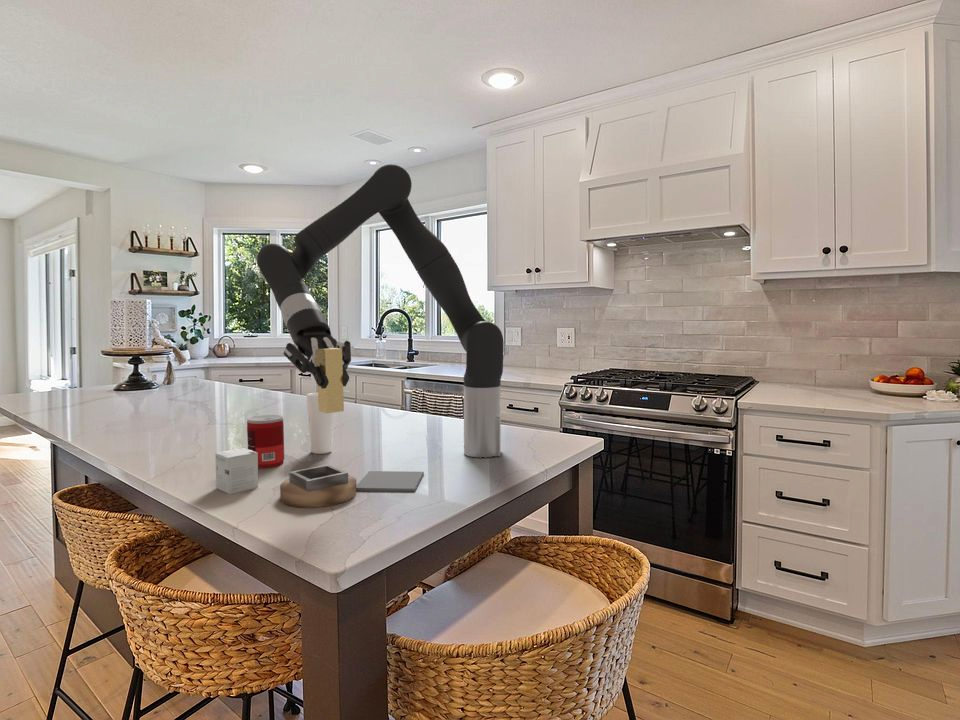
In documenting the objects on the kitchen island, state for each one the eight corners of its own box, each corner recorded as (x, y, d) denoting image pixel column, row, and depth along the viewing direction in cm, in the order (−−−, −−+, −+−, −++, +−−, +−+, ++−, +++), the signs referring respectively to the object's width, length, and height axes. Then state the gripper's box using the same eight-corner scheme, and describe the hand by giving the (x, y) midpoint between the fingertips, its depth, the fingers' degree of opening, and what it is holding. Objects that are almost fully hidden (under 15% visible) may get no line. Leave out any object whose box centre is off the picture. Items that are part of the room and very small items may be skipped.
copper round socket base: (335, 480, 115) (334, 459, 114) (370, 496, 104) (369, 472, 104) (268, 494, 105) (267, 471, 105) (299, 513, 95) (299, 488, 95)
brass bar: (335, 408, 107) (333, 348, 106) (343, 411, 105) (341, 348, 104) (318, 411, 105) (316, 348, 104) (327, 413, 102) (324, 349, 101)
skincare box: (215, 488, 109) (214, 452, 109) (245, 481, 114) (244, 447, 113) (229, 494, 105) (228, 457, 105) (259, 487, 110) (258, 451, 109)
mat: (423, 474, 119) (423, 471, 119) (414, 491, 107) (414, 488, 107) (369, 473, 119) (369, 471, 119) (354, 490, 107) (354, 487, 107)
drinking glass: (339, 449, 142) (338, 392, 141) (329, 455, 135) (328, 395, 134) (314, 448, 143) (312, 391, 142) (303, 455, 136) (301, 395, 135)
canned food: (291, 461, 130) (290, 415, 129) (268, 470, 123) (266, 421, 122) (265, 458, 133) (263, 413, 132) (240, 467, 125) (239, 419, 124)
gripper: (275, 306, 104) (305, 374, 96) (342, 307, 114) (375, 368, 106) (265, 334, 108) (294, 401, 100) (330, 332, 118) (361, 393, 110)
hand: (335, 384), depth 103 cm, fingers closed on brass bar, 3 cm apart
